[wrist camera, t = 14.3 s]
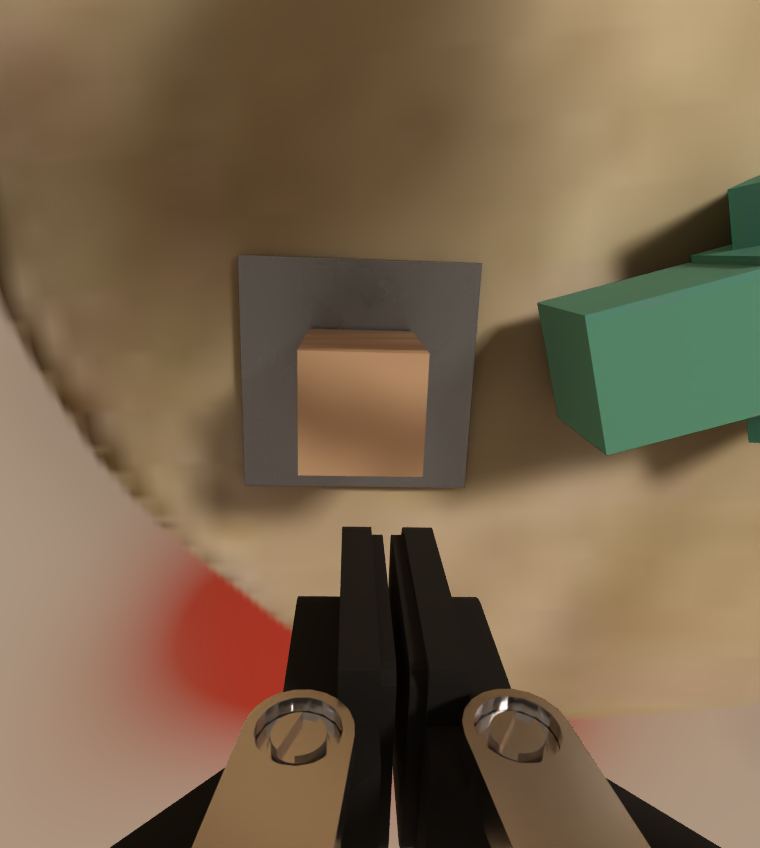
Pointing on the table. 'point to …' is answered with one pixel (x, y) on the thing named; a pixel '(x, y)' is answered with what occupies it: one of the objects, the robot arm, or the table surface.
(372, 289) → the grey base plate
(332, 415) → the tan cardboard carton
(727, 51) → the table surface
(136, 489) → the table surface
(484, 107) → the table surface
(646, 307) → the toy
